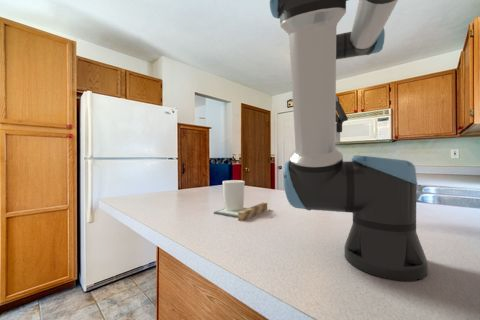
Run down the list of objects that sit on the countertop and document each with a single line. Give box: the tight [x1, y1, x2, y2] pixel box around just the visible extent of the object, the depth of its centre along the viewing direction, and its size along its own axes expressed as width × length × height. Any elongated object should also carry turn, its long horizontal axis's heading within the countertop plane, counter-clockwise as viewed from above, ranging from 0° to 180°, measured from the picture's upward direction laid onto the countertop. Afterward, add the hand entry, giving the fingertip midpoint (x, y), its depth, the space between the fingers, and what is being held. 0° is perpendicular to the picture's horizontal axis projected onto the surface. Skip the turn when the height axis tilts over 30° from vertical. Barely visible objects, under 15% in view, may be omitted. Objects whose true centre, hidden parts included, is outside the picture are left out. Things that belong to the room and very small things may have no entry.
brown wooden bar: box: [237, 202, 268, 222], centre depth 89 cm, size 20×2×3 cm, turn 146°
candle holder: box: [222, 179, 246, 211], centre depth 96 cm, size 10×10×12 cm
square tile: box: [213, 207, 249, 219], centre depth 93 cm, size 13×13×1 cm
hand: (320, 143), depth 84 cm, fingers open, 13 cm apart
